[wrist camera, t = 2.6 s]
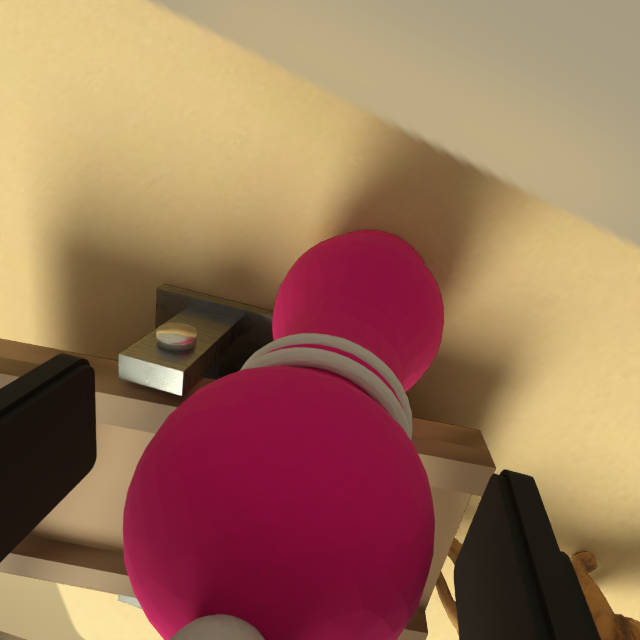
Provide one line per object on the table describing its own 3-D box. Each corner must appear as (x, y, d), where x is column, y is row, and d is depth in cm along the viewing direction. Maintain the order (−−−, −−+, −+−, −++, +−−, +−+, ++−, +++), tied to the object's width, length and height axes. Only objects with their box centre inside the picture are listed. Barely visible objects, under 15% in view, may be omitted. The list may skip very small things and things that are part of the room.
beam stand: (280, 312, 25) (229, 371, 19) (246, 535, 32) (199, 636, 25) (164, 284, 26) (76, 330, 19) (154, 505, 33) (86, 596, 26)
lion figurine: (674, 549, 25) (796, 744, 17) (646, 616, 27) (744, 820, 19) (406, 502, 28) (399, 650, 20) (398, 566, 30) (389, 725, 22)
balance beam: (480, 430, 22) (496, 468, 19) (414, 604, 27) (420, 652, 24) (-69, 325, 22) (-124, 349, 19) (-36, 517, 27) (-76, 557, 24)
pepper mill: (357, 188, 22) (29, 389, 4) (472, 281, 22) (685, 877, 4) (276, 296, 25) (-133, 709, 7) (378, 377, 25) (260, 977, 7)
